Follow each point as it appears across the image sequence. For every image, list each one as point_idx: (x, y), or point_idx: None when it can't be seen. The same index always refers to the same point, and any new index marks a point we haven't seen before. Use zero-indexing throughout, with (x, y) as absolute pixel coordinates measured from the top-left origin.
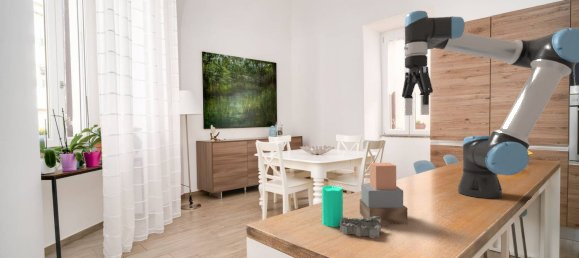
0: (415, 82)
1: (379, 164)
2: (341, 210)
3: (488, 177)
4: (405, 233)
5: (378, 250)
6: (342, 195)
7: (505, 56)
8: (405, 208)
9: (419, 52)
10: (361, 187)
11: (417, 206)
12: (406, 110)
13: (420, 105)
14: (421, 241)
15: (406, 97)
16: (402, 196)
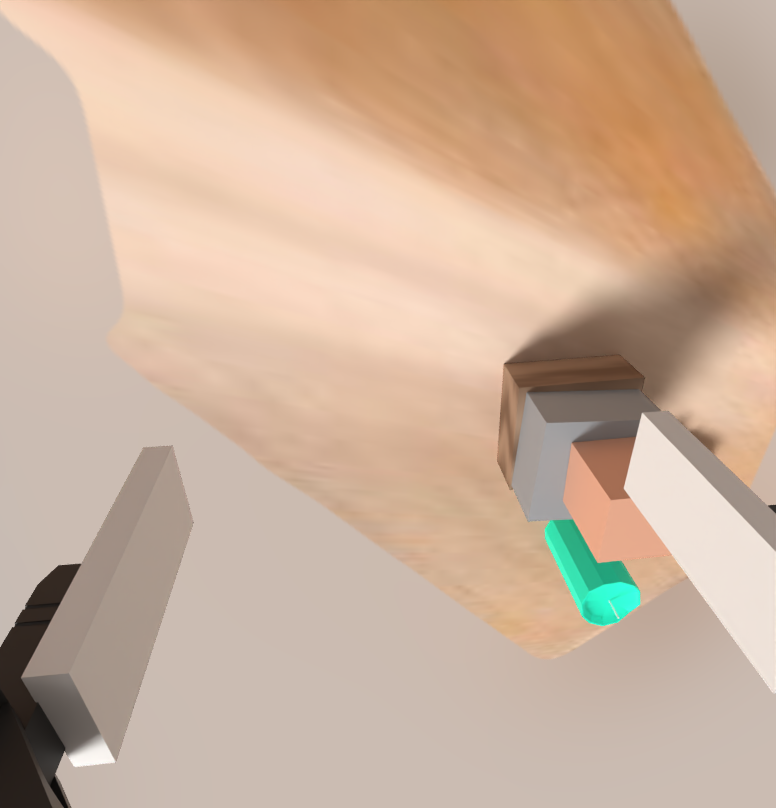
0: None
1: (645, 539)
2: None
3: None
4: (685, 382)
5: (752, 461)
6: (614, 566)
7: None
8: (642, 382)
9: None
10: (525, 511)
11: (437, 250)
12: (173, 559)
13: (690, 566)
14: (744, 362)
15: (51, 768)
16: (657, 410)
